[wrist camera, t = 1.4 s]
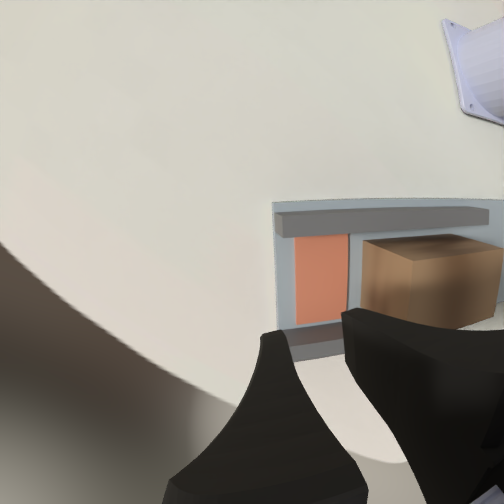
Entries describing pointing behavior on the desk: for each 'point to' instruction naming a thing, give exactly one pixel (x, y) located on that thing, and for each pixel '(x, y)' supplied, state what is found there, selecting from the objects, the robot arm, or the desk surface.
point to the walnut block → (431, 279)
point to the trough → (354, 255)
